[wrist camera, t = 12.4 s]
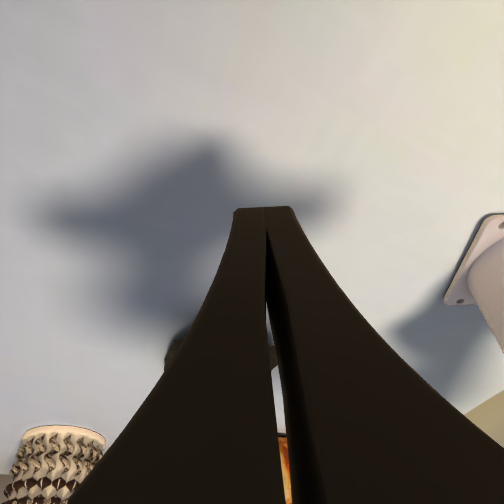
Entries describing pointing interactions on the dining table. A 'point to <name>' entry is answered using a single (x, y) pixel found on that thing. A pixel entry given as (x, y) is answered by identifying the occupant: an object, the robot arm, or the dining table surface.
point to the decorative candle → (52, 464)
